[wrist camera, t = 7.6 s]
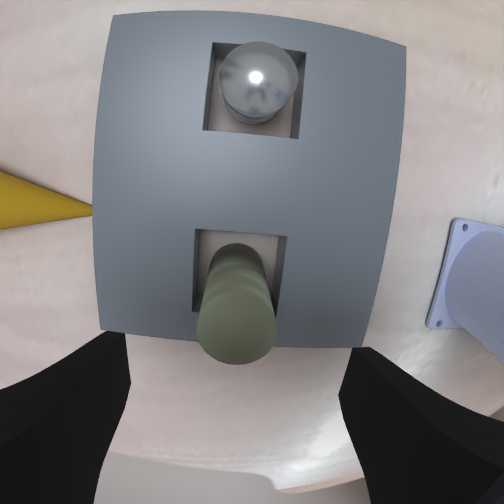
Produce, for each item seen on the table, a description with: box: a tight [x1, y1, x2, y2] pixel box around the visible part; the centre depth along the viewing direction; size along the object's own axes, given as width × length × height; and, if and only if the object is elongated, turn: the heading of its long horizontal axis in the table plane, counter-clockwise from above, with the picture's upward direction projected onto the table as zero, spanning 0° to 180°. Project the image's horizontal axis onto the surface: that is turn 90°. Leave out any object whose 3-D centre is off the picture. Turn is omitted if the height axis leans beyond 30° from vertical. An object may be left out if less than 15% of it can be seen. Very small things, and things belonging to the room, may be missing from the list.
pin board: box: [92, 11, 406, 348], centre depth 16 cm, size 15×17×2 cm
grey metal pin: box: [219, 41, 298, 124], centre depth 13 cm, size 3×3×5 cm
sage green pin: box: [197, 243, 277, 365], centre depth 15 cm, size 3×3×7 cm
